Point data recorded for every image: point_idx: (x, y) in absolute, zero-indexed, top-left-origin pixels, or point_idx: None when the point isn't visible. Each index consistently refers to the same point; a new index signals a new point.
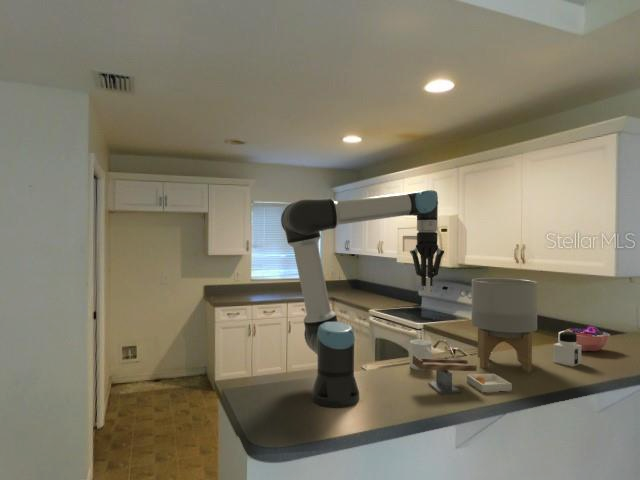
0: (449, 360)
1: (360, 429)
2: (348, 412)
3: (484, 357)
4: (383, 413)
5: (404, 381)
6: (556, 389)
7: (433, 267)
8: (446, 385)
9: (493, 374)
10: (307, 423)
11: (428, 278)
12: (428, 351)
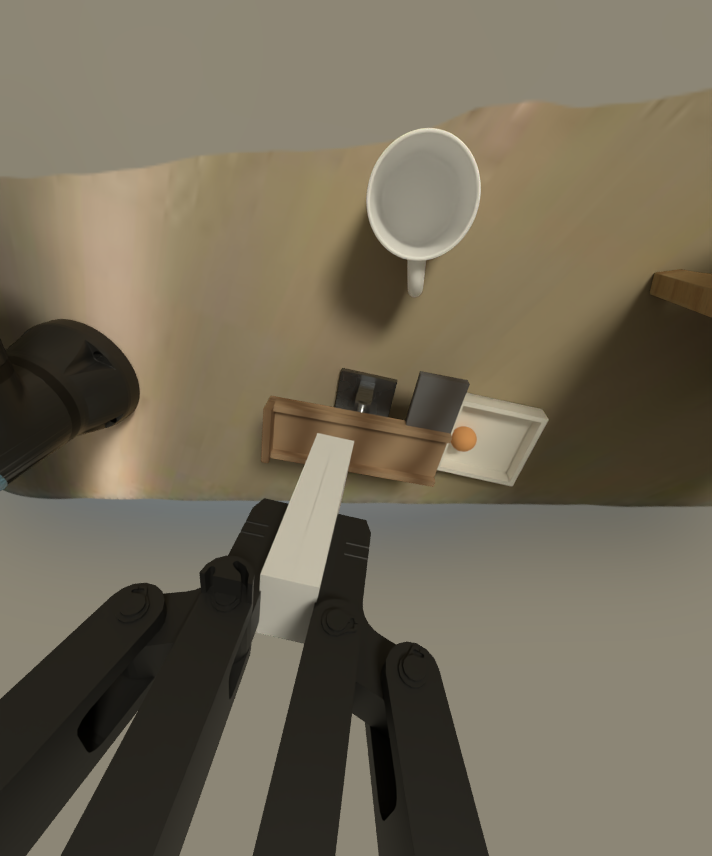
0: (388, 430)
1: (130, 494)
2: (114, 440)
3: (678, 303)
4: (177, 464)
5: (287, 323)
6: (623, 501)
7: (407, 828)
8: None
9: (541, 422)
10: None
11: (287, 629)
12: (409, 284)
